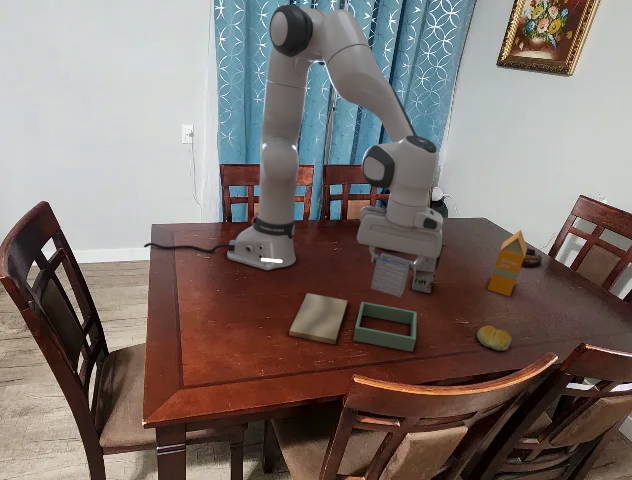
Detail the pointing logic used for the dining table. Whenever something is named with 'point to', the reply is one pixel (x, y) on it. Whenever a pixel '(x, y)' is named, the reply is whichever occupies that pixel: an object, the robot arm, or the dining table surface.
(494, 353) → the dining table surface
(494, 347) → the bread roll
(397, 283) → the medicine box
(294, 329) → the board
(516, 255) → the orange juice
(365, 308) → the bin
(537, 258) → the pastry
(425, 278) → the coffee box
